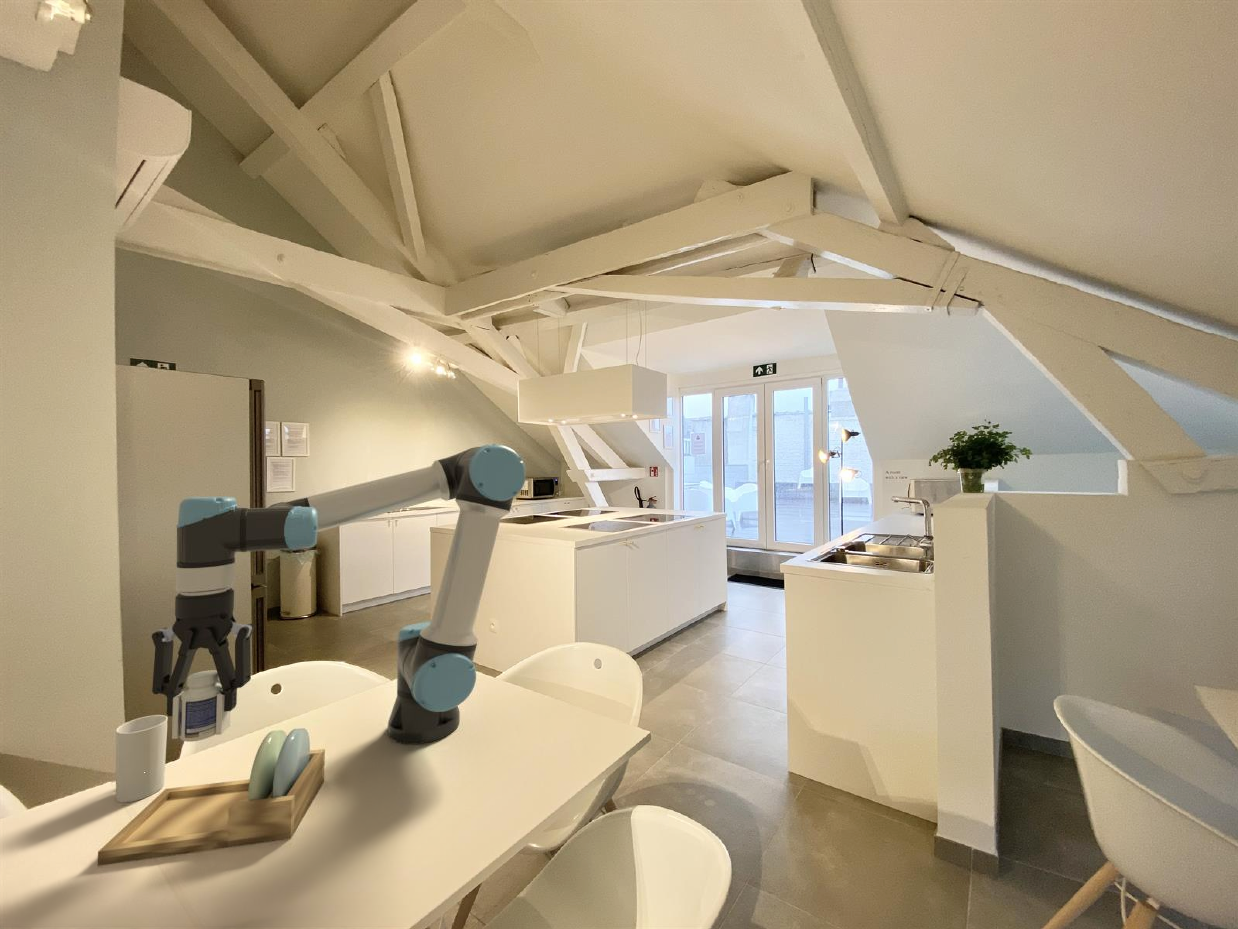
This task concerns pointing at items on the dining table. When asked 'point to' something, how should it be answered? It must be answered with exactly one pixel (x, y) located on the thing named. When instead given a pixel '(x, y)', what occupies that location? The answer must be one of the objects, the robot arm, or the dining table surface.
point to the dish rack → (214, 818)
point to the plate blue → (291, 761)
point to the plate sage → (265, 765)
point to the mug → (140, 757)
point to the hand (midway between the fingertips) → (201, 732)
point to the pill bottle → (199, 706)
